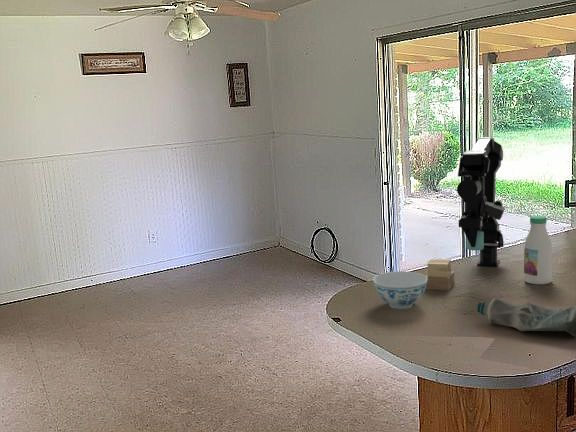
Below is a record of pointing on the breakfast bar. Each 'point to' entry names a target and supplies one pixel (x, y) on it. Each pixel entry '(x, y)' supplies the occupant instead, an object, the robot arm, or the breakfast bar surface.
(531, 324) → the crushed plastic bottle
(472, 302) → the breakfast bar surface
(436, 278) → the base block
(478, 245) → the teal cylinder
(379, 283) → the chinaware
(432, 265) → the top block
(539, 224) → the milk bottle
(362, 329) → the breakfast bar surface
